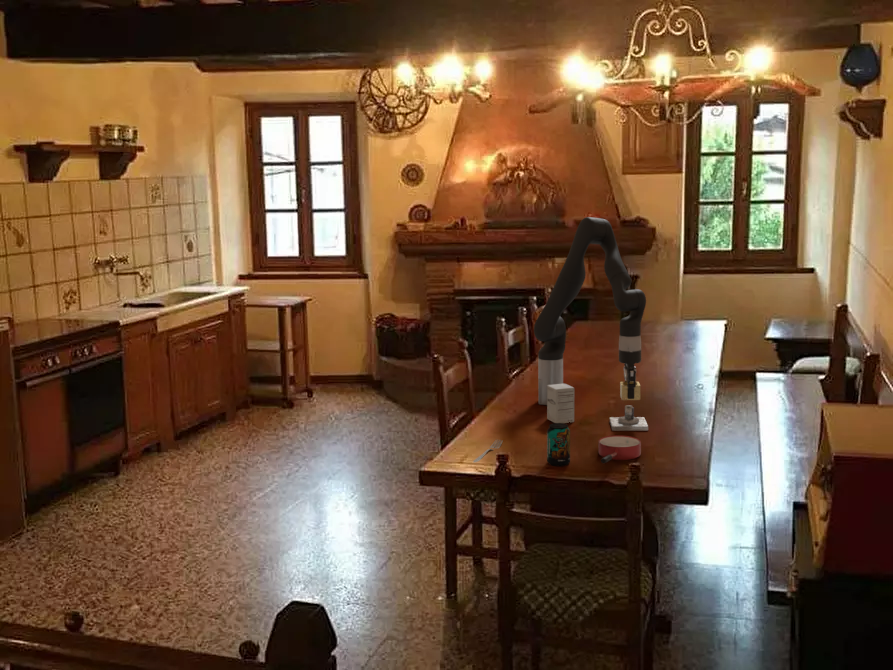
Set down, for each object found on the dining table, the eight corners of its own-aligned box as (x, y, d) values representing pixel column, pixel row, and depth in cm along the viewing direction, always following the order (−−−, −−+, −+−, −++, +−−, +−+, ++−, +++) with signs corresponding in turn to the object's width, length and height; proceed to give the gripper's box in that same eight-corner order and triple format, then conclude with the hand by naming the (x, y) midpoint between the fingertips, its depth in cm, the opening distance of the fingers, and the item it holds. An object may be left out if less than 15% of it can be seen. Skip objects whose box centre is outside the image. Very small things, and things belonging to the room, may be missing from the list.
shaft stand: (612, 430, 347) (612, 410, 346) (609, 421, 359) (609, 402, 358) (648, 430, 346) (648, 410, 345) (644, 421, 358) (644, 401, 357)
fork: (466, 465, 314) (466, 459, 314) (495, 444, 336) (495, 439, 335) (475, 466, 313) (475, 460, 312) (504, 445, 334) (504, 440, 334)
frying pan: (634, 481, 295) (634, 460, 293) (589, 478, 298) (589, 457, 297) (642, 449, 325) (642, 430, 324) (600, 447, 328) (600, 428, 327)
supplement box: (546, 419, 363) (546, 384, 361) (565, 417, 366) (565, 382, 364) (556, 424, 357) (555, 389, 354) (575, 422, 359) (575, 387, 357)
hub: (621, 400, 348) (621, 385, 347) (620, 395, 354) (620, 381, 353) (640, 399, 347) (640, 385, 347) (638, 395, 354) (638, 381, 353)
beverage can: (566, 467, 308) (566, 429, 306) (544, 465, 310) (544, 427, 308) (572, 461, 314) (572, 423, 312) (550, 459, 317) (550, 421, 315)
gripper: (617, 344, 355) (617, 391, 358) (620, 352, 341) (620, 401, 344) (638, 344, 355) (638, 391, 357) (643, 352, 340) (643, 401, 343)
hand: (629, 396), depth 351 cm, fingers closed on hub, 6 cm apart
